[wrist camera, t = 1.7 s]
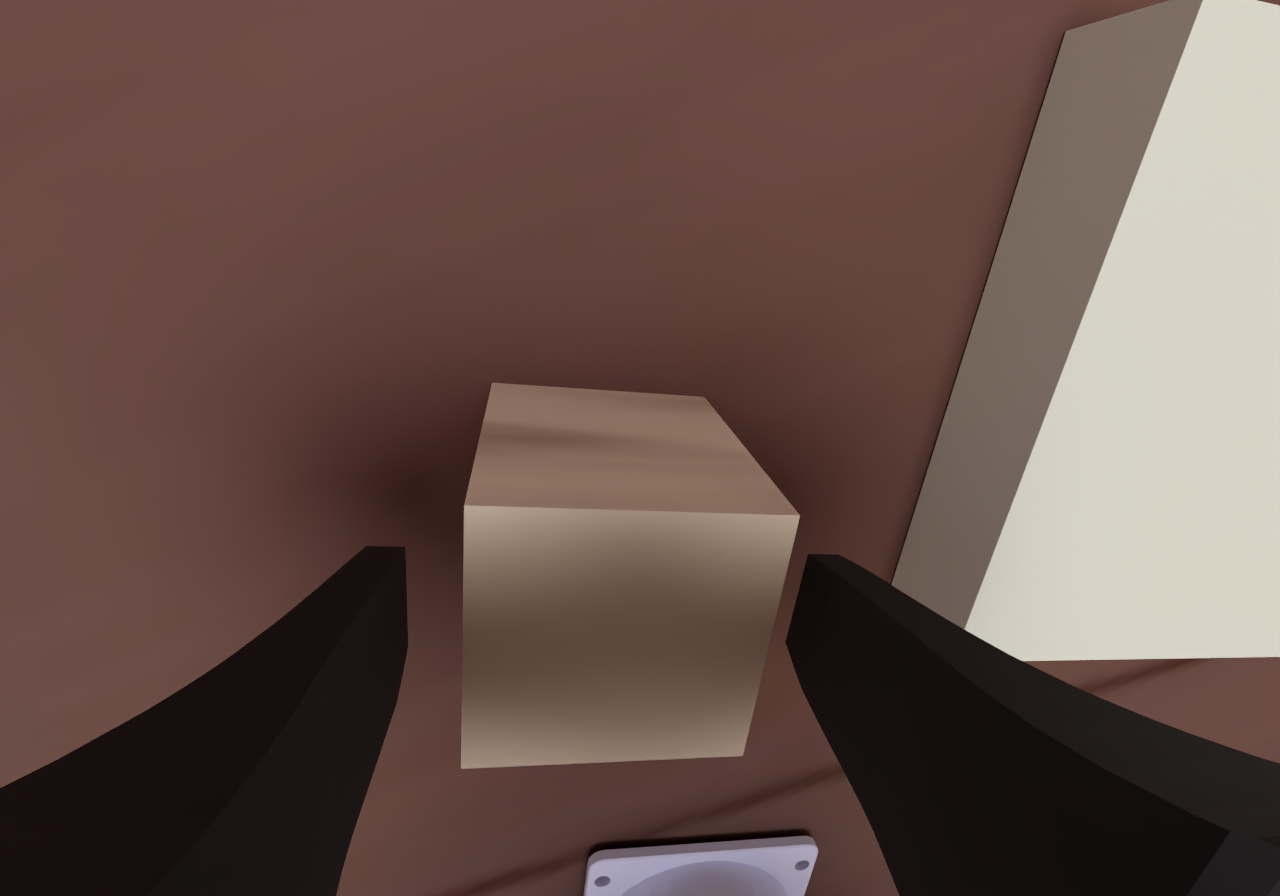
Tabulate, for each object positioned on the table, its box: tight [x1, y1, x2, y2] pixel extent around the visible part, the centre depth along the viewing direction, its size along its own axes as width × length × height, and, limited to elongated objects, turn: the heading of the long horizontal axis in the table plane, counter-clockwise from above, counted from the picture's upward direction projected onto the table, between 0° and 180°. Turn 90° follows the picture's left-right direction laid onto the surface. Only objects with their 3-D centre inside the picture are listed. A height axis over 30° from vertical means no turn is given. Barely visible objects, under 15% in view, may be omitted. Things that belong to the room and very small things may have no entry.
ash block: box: [461, 383, 800, 769], centre depth 13 cm, size 5×5×6 cm
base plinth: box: [891, 0, 1280, 661], centre depth 15 cm, size 14×14×3 cm
